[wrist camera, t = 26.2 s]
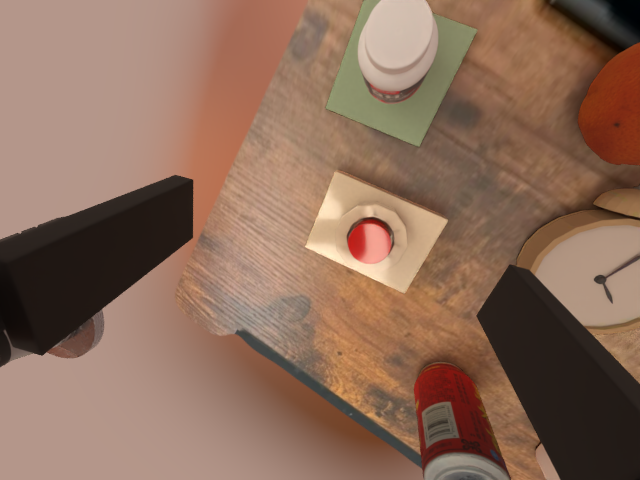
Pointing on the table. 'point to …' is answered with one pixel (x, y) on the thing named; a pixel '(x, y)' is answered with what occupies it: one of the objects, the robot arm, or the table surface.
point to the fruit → (614, 110)
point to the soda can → (455, 427)
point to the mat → (421, 107)
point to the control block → (392, 210)
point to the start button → (369, 241)
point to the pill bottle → (397, 49)
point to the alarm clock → (593, 262)
